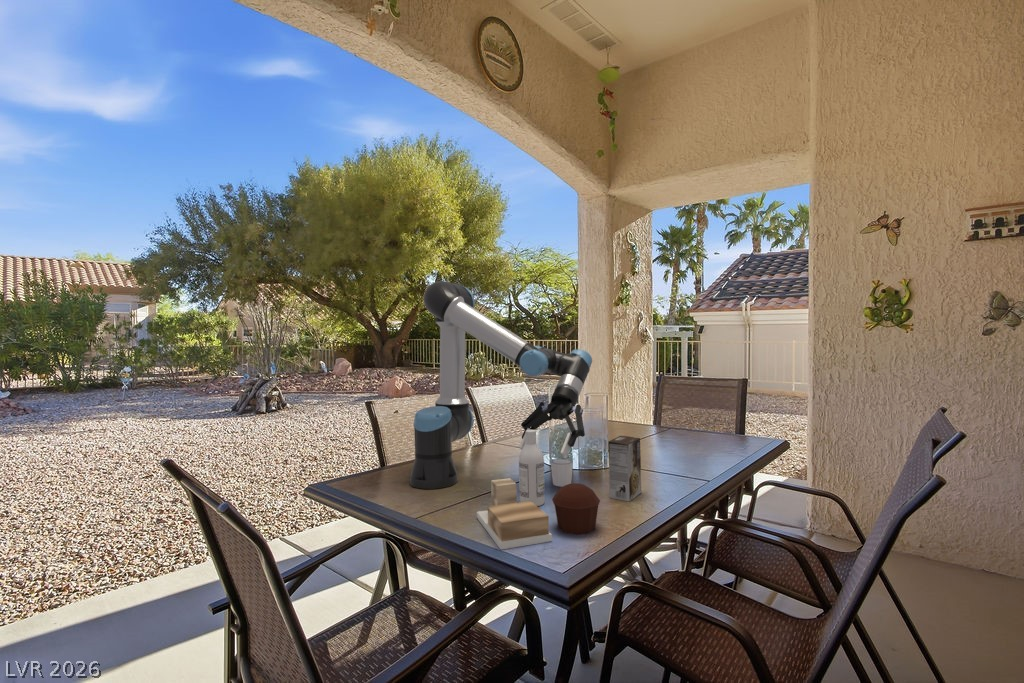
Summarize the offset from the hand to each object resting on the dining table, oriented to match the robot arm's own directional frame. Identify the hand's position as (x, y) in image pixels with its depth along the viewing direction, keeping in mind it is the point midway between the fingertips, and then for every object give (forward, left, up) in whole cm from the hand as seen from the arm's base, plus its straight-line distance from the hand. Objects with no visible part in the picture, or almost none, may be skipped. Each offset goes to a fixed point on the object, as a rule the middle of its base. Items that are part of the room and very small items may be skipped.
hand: (542, 452), depth 135 cm
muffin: (+21, 0, -14) cm, 25 cm away
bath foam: (+1, -4, -14) cm, 14 cm away
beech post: (+10, -15, -12) cm, 21 cm away
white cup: (-12, +11, -14) cm, 21 cm away
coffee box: (+5, +23, -14) cm, 28 cm away
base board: (+16, -15, -13) cm, 25 cm away
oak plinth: (+20, -15, -12) cm, 27 cm away
